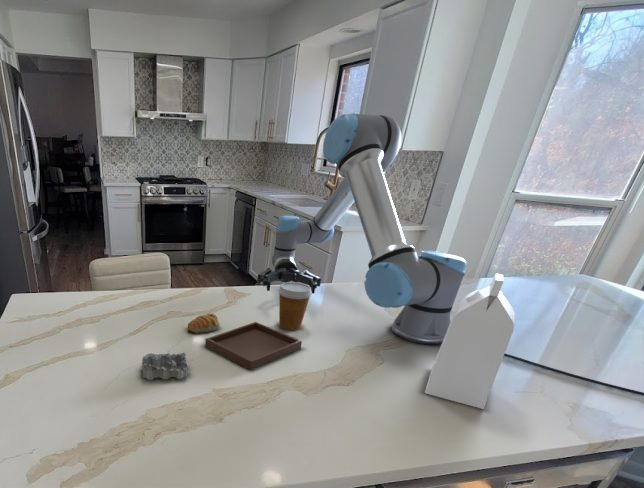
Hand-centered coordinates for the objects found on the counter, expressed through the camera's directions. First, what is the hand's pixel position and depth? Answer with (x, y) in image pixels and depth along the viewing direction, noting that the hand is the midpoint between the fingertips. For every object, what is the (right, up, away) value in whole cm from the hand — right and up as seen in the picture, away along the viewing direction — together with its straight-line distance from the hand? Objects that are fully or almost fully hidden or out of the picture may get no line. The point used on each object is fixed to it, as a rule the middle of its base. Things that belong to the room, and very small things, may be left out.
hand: (291, 288), depth 131 cm
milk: (+30, -31, -33) cm, 54 cm away
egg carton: (-37, -27, -30) cm, 55 cm away
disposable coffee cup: (-1, -12, -3) cm, 13 cm away
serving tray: (-14, -20, -17) cm, 30 cm away
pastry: (-27, -14, -6) cm, 31 cm away
